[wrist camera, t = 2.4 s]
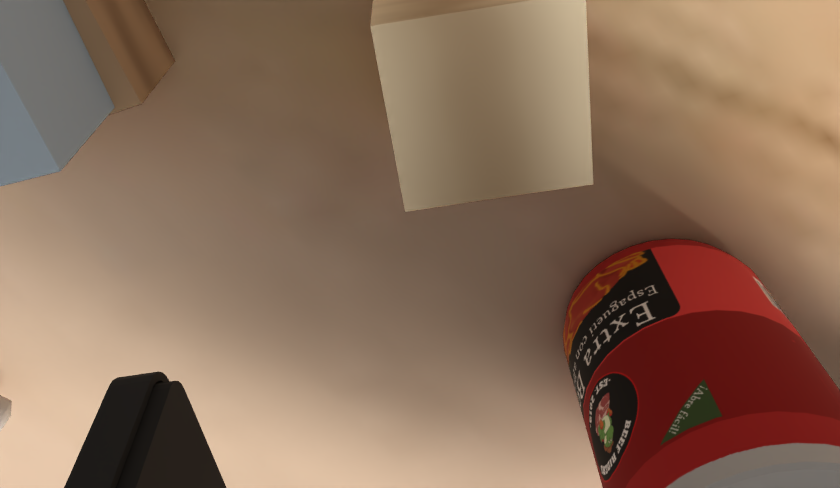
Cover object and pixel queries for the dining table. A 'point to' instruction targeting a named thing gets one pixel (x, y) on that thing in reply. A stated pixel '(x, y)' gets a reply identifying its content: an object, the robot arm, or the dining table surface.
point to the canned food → (697, 375)
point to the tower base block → (122, 47)
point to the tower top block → (44, 90)
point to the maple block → (484, 97)
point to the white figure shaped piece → (4, 411)
